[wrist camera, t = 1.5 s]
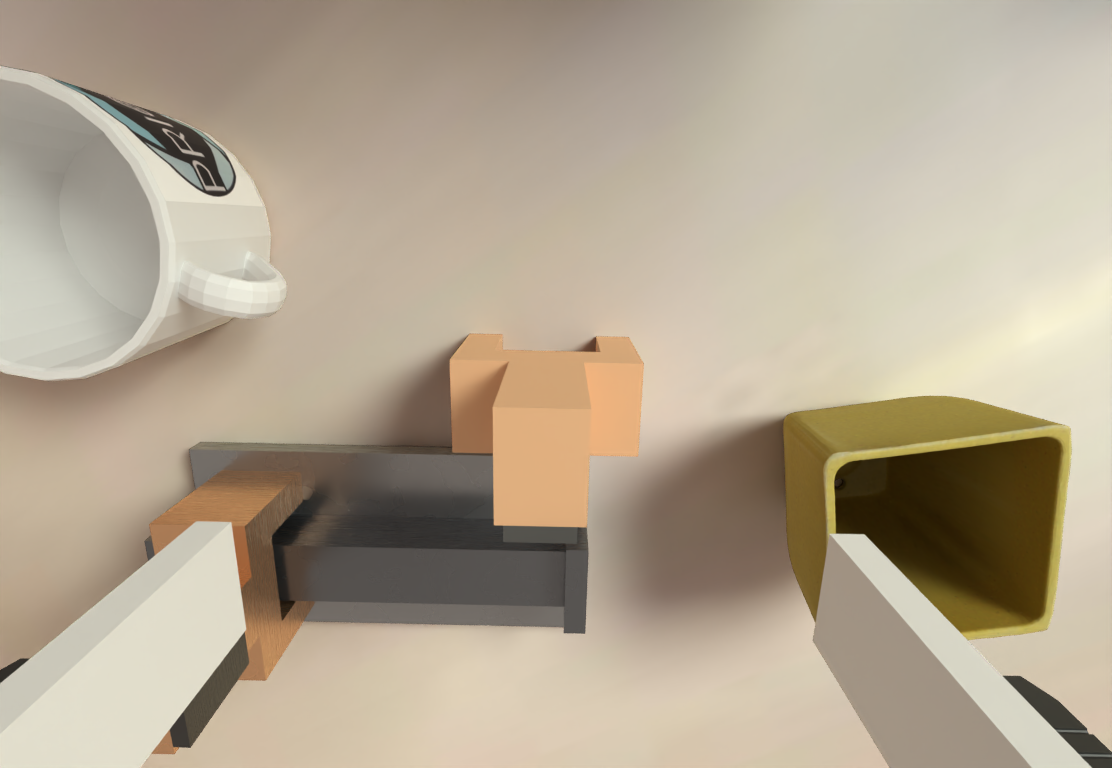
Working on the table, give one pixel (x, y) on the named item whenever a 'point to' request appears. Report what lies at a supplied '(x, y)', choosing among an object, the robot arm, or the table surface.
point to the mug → (118, 232)
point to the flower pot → (935, 503)
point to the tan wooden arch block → (544, 426)
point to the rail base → (388, 497)
